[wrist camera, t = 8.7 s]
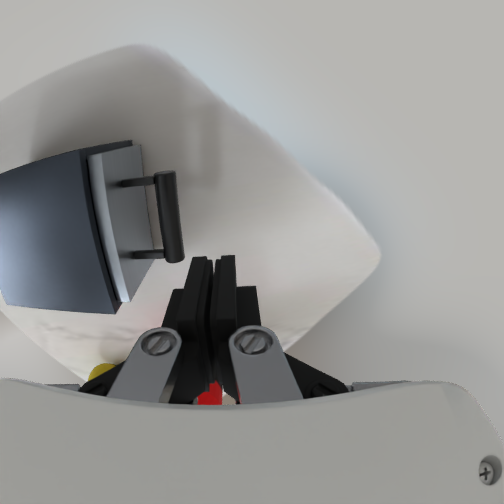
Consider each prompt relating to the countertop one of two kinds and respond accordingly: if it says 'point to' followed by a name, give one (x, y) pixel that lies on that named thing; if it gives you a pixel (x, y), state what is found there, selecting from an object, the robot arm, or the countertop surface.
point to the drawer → (132, 217)
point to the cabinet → (53, 236)
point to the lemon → (100, 370)
